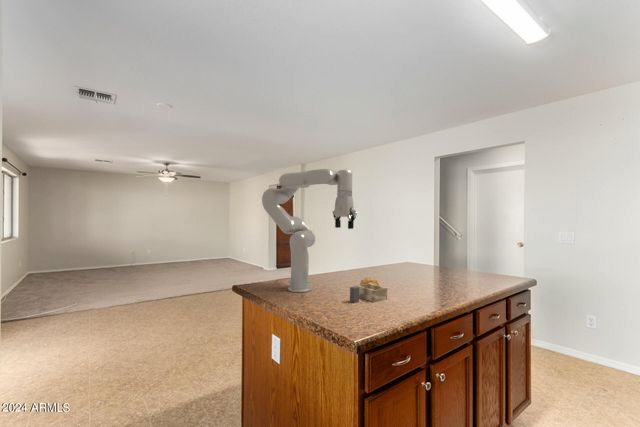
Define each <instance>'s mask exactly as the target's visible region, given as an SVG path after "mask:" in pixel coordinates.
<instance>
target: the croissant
mask: <svg viewBox="0 0 640 427" xmlns="http://www.w3.org/2000/svg"><path fill="white" fill-rule="evenodd" d="M368 283H370V284H374V285H378V286H380V284H379V282H378V281H377V280H376V279H375V278H373V277H369V276H368V277H366V278H363V279H362V280H361V281H360V284H359V285H363V284H368Z"/></svg>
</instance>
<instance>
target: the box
mask: <svg viewBox="0 0 640 427" xmlns="http://www.w3.org/2000/svg"><path fill="white" fill-rule="evenodd" d="M356 287H359V299H363V300H366V301H369V302H372V303H379V302H382V301H385V300H388V287H384V286H381V285H379V286H378V285H374V284H370V283H368V284H363V285H360V284H358V285H356Z"/></svg>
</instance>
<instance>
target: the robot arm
mask: <svg viewBox="0 0 640 427" xmlns="http://www.w3.org/2000/svg"><path fill="white" fill-rule="evenodd" d="M278 182H279V185H280V186H281V188H275V187H274V188H268V189H266V190H264V192H263V193H262V196H261V204H262V206H263V209H264V210H265V212H266V213H267V214H268V215H269V217H270V219H272V220H273V221H274V223H275V224H276V225H277V227H278V228H279V229H280V230H281V231H282V233H283V234H286V235H291V236H290V238H289V248H290V280H289V281H288V284H289V286H288V287H287V291H289V292H291V293H306V292H307V293H308V292H310V291H311V290H312V286H310V285H309V251H308V248H310V247H313V246H314V244H315V242H316V235H315V234H314V233H313V230H311V228H310V227H309V226H308V225H307V224H306V222H304V220H303V219H301V217H298V216H292V215H290V214H289V213H288V212H287V211H286V210H285V209H284V207H282V206H281V204H286V203H287V202H288V201H289V200H290V199H291V198H292V197H293V196H294V194H295V193H296V192H297V191H298V190H299V189H304V188H309V187H310V186H312V185H314V186H315V185H329V186H337V187H336V188H337V189H336V192H337V193H336V196H337V197H336V198H335V202H334V210H332V215H333V218H334V219H333V220H334V224H335V225H334V228H336V229H337V228H339V229H340V228H341V226H342V225H341V218H342V217H347V219H348V220H347V229H348V230H353V229H354V221H355V219H356V217H357V214H358V211H356V210H355V209H354V207H355V206H354V199H353V172H352V170H351V169H340V170H338V171H337V170H332V169H329V168H320V169H319V168H317V169H311V170H306V171H299V172H289V173H288V172H287V173H284V174H281V175H280V177H279V180H278Z"/></svg>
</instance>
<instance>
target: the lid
mask: <svg viewBox="0 0 640 427" xmlns="http://www.w3.org/2000/svg"><path fill="white" fill-rule="evenodd" d="M349 302H350V303H353V304H357V303H359V302H360V298H359V287H357V286H356V285H355V286H350V287H349Z"/></svg>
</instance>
